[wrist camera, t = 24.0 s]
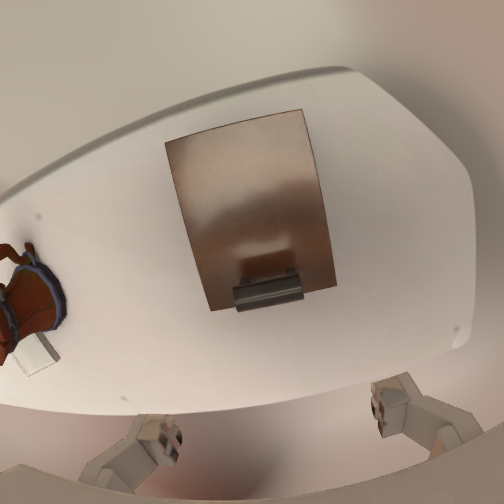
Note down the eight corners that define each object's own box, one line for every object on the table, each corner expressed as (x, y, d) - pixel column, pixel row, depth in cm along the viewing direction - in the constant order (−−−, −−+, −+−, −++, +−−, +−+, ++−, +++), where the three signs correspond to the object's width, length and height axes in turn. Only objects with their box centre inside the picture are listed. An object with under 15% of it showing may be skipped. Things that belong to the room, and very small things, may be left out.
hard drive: (28, 322, 38) (3, 343, 40) (56, 363, 40) (27, 378, 42) (33, 318, 39) (7, 339, 41) (61, 357, 41) (31, 373, 43)
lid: (335, 282, 27) (350, 309, 21) (211, 307, 28) (201, 338, 23) (301, 110, 23) (311, 95, 17) (166, 143, 24) (143, 138, 19)
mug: (7, 218, 35) (-63, 241, 20) (55, 216, 34) (-23, 243, 20) (26, 321, 40) (-27, 365, 25) (75, 332, 39) (20, 388, 25)
